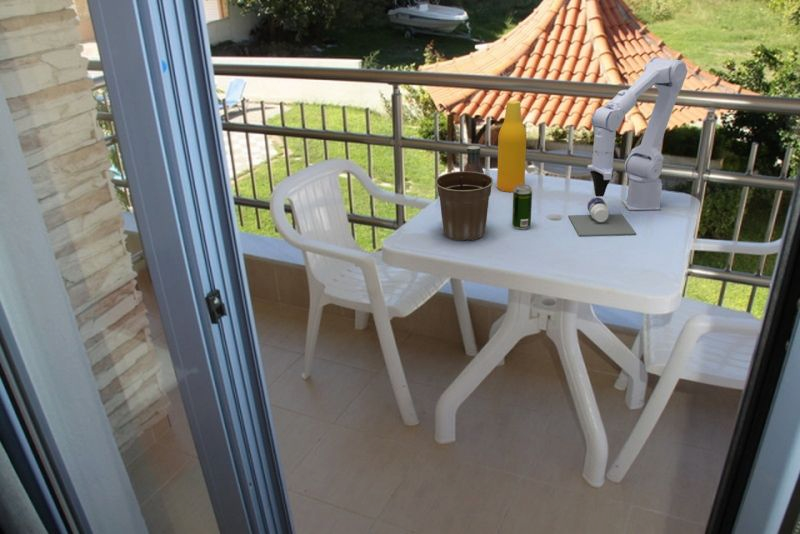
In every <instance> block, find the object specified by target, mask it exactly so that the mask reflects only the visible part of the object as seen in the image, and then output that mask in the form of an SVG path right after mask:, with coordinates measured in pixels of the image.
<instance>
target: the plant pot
mask: <svg viewBox="0 0 800 534" xmlns="http://www.w3.org/2000/svg"><path fill="white" fill-rule="evenodd" d="M434 184H435V185H436V188H437V189H436V190H437V196H438V197H439V202H440V203H439V206H440V211H441V212H440V213H441V222H442V230H443V231H442V232H443V235H444V236H445V237H446V238H448V239H450V240H452V241H453V240H454V241H461V242H464V241H466V240H469V241H474V240H475V241H476V240H479V239H481V238H483V237H484V235H485V234H486V229H487V221H488V220H487V219H488V212H489V211H488V208H489V200H490V196H491V192H492V185H493V184H494V179H493V177H492V176H490V175H489V174H487V173H484V174H483V173H479V172H470V171H464V170H462V171H460V170H459V171H452V172H447V173H444V174H442V175H440V176H437V178H436V179H435V181H434Z"/></svg>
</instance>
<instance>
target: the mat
mask: <svg viewBox="0 0 800 534" xmlns="http://www.w3.org/2000/svg"><path fill="white" fill-rule="evenodd" d="M568 219H569V220H570V222H571V225H572V226H573V229H574V230H575V232H576V233H577V236H578V237H613V236H614V237H615V236H616V237H618V236H637V232H636V231H635V229H634V228H633V227H632V225H631V224H630V222H628V220H627V219H626V217H625V215H624V214H622V213H611V214H610V213H609V214H608V218H607V220H605V221H604V222H598V221H596V220H594V219H593V218H592V217H591V215H590V214H572V215H570V214H569V215H568Z"/></svg>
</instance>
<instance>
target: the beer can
mask: <svg viewBox="0 0 800 534" xmlns="http://www.w3.org/2000/svg"><path fill="white" fill-rule="evenodd" d="M512 193H513V194H512V221H511V224H512V227H513V228H514V229H516V230H521V229H522V230H523V229H524V230H527V229H529V228H531V225H532V205H533V190H532V186H530V185H527V184H525V185H517V186H515V187H514V190H513V192H512Z"/></svg>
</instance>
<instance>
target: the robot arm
mask: <svg viewBox="0 0 800 534" xmlns="http://www.w3.org/2000/svg"><path fill="white" fill-rule="evenodd" d="M643 70H644V71H643V72H642V73H641V75H639V77H638V78H637V79H636V80H635V81H634V83H633V84H631V86H629V88H628V89H622V90H619V91H618V92H617V94H616V95H615V96H614V97H613V98H612V99H611V100H610V101H609V102H607V104H606V105H605V106H601V107H599V108H597V109H596V110H594V112H593V114H592V116H591V118H590V123H591V125H592V127H593V128H592V132H593V134H594V135H593V137H594V138H593V145H592V146H593V148H592V159H591V160H592V161H591V164H588V165H587V169H588V170H591V171H589V172H590V175H591V178H592V183H593V187H594V195H595V197H599V198H601V197H604V196H605V193H606V189H607V187H608V185H609V184H610V183H609V182H611V181H612V179H613V176H614V175H613V169H614V153H615V146H616V145H615V143H616V142H615V141H616V135H617V130H618V129H619V128H620V126H621V125H622V122H623V120H624V119H625V116H626V115H627V114H628V113H629V112H630V111H631V110H632V109H633V108H634V107H635V106H636V105H637V101H638V100H637V99H638V98H639V97H640V96H641V95H643V94H644V93H645V92H646V91H647V90H649V89H651V87H652V86H654V88H656V89H657V92H658V95H657V97H656V100H655V103H654V106H653V109H652V112H651V115H650V116H649V117H650V118H649V120H648V122H647V125H646V128H645V131H644V134H643V137H642V140H641V143H640V144H639V145H637V146H636V147H633V148H632V149H631V151H630V154H629V155H628V157H627V158H626V159H625V162H624V172H625V173H626V174H627V178H628V188H627V194H626V195H627V196H626V199H623V200H622V202H621V203H623V205H624V206H626V207H625V208H627V210H629V211H648V210H649V211H651V210H653V211H654V210H655V211H656V210H661V207H660V206H661V201H662V192H663V191H662V190H663V183H662V180H661V178H659V177H660V176H661V174H662V172H663V171H662V170H663V163H664V160H665V157H664V155H663V154H662V153H661V151H660V146H661V143H662V141H663V138H664V135H665V133H666V130H667V127H668V124H669V121H670V118H671V116H672V114H673V113H672V112H673V110H674V108H675V104H676V103H677V99H678V96H679V94H680V92H681V91H682V88H683V85H684V82H685V80H686V78H687V77H686V76H687V74H688V68H687V65H686V63H685V61H684V60H682V59H678V60H677V59H670V58H662V57H658V56H653V57H652V58H650V60H648V62H647V63H646V64H645V65H644V69H643ZM646 156H647V157H646Z"/></svg>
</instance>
